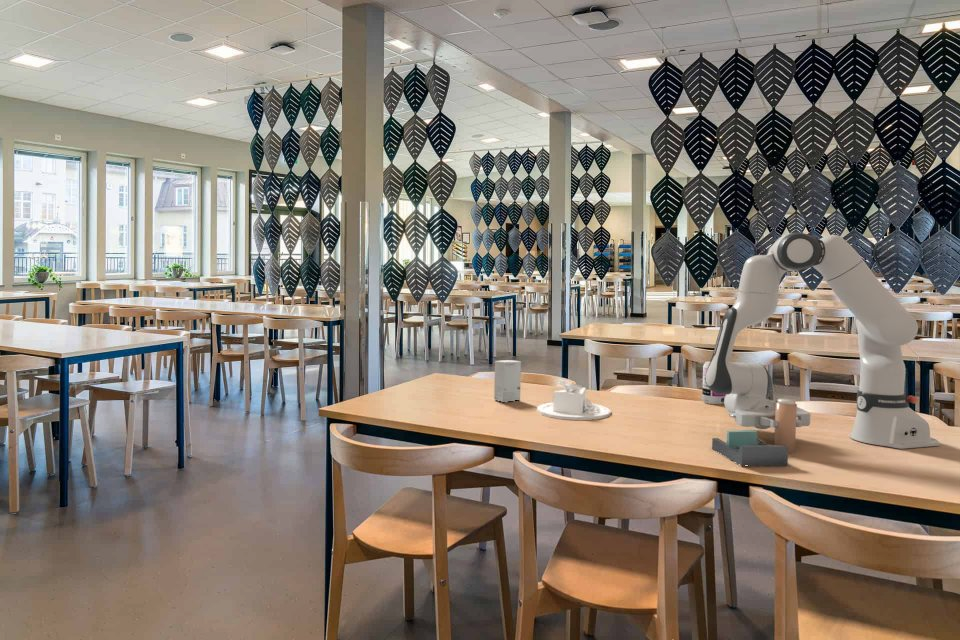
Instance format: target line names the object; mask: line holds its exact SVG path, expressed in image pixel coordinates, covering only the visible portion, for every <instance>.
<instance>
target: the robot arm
mask: <svg viewBox="0 0 960 640" xmlns="http://www.w3.org/2000/svg"><path fill="white" fill-rule="evenodd" d="M812 267H813V268H814V269H815V270H817V271H818V272H819V273H820V274H821V276H822V278H823V279H824V281H826V283H827V285H828V286H829V287H830V289H831V290H832V292H834V294H835V296H836V297H837V298H838V300H839V301H840V302H841V304H842V305H844V306H845V307H846V308H847V309H848V310H849V312H851V313H852V314H853V316H854V317H855V318H856V319H855V327H856V331H857V345H858V351H859V361H860V365H859V367H860V368H859V369H860V370H859V388H858V389H857V390H856V391H857V393H856V416H855V420H854V423H853V427H852V430H851V433H850V435H849V436H850V439H852V440H855V441H857V442H860V443H865V444H870V445H876V446H882V447H889V448H895V449H898V450H899V449H903V450H905V449H913V448H925V447H927V448H928V447H935V446H936V447H937V446H940V445H941V443H940V441H939V440H938V439H936V438H933V437H931V430H930V429H931V428H930V424H929V422H928V421H927V420H925V418H923V417H922V416H920V414H919V413H917V412H916V411H914V410H913V409H912V408H911V407H910V404H909V403H911V404H917V403H918V397H917V396H916V395H915V396H914V395H907V394H905V380H906V379H905V378H906V377H905V376H906V364H905V362H904V359H903V354H902V346H904V345H907V344H909V343H911V342H912V341H914V339H915V338H916V336H917V334H918V330H919V325H918V322H917V320H916V318H915V317H914V316H913V315H912V314H911V313H910V312H909V311H908V310H907V309H906V308H905V307H904V306H903V304H901V302H900V301H899V300H898V299H897V298H896V297H895V296H894V295H893V294H892V293H891V292H890V291H889V290H888V288H887V287H885V286H884V284H882V282H881V281H880V280H879V279H878V278H877V276H876V275H875V274H874V273H873V271H872V270H871V269H870V267H869V266H868V265H867V263H866V262H865V261H864V259H863V258H862V256H861V255H860V254H859V253H858V251H856V249H855V248H854V247H853V246H852V245H851V244H850V243H849V242H848V241H846V239H844V238H843V237H842V236H840V235H837V234H828V235H826V236H823V237H821V238H817V237H815V236H812V235H810V234H808V233H804V232H800V231H799V232H789V233H786V234H783V235H782V236H779V238H776V240H775V241H773V242H772V243H771V244H770V246H769V248H768V249H767V250H766V252H765V253H764V254H756V255H753V256H751V257H749V258H747V259H746V261H745V262H744V264H743V268H742V270H741V275H740V278H739V279H740V280H739V285H738V293H737V298H736V300H735V302H734V303H733V305H732V307H730V308H728V309H727V310H726V311H725V312H724V316H723V317H722V321H721V322H720V326H719V327H720V328H719V331H718V335H717V337H716V338H717V339H716V341H715V344H714V345H715V346H714V349H713V352H712V356H711V359H710V364H709V366H708V368H707V371H706V375H705V381H706V385H707V386H708V387H709V389H710V390H711V391H712V392H714V393H715V394H717V395H726V397H725V399H724V404H723V405H724V407H725V409H726V411H727V412H728V413H729V414H728V415H729V417H731V418H734V422H735V423H736V424H737V425H739V426H740V427H746V428H747V427H749V428H750V427H751V428H752V427H753V428H756V429H758V430H767V429H769V428H775V427H778V421H776V420H775V411H776V402H778V400H772V399H769V395H770V392H771V388H772V377H771V374H770V372H769V370H768V369H767V367H766V366H765V365H764V364H763V363H761V362H736V361H731V358H732V353H733V349H734V346H735V343H736V339H737V336H738V335H739V333H741V332H742V331H743V330H744V329H746V328H748V327H751V326H755V325H758V324H760V323H762V322H765V321H767V320H768V319H770V317H772V316H773V315H774V313H775V312H776V310H777V307H778V303H779V302H778V301H779V293H780V292H779V291H780V290H779V289H780V283H781V280H782V277H783V275H784V274H786V273H787V272H797V271H801V270H806V269H808V268H812ZM811 421H812V420H811V413H810V412H809V411H807V410H805V409H803V408H800V407H798V406H797V417H796V428H801V427H808V426H810V425H811Z"/></svg>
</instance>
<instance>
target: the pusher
mask: <svg viewBox="0 0 960 640" xmlns="http://www.w3.org/2000/svg"><path fill="white" fill-rule="evenodd" d="M757 439H758V431H757V430H755V429H754V430H750V429H749V430H727V431H726V443H727V444H729V445H731V446H733V447H735V448H736V449H738V450H739V447H740V446H747V445H757Z"/></svg>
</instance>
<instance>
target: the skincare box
mask: <svg viewBox="0 0 960 640" xmlns="http://www.w3.org/2000/svg"><path fill="white" fill-rule="evenodd" d="M521 373H522V361H521V360H515V359H513V360H512V359H509V360H507V359H506V360H503V359H501V360H494V387H493V388H494V390H493V391H494V393H493V394H494V395H493V396H494V397H493V400H494V399H495V400H494V401H496V400H498V401H497V402H499V401H501V402H500V403H502V402H505V403H509V402H508V401H513V402H516V401H515V400H520V401H521V384H522V383H521V381H522V379H521V378H522V374H521Z"/></svg>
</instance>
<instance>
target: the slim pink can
mask: <svg viewBox="0 0 960 640" xmlns="http://www.w3.org/2000/svg"><path fill="white" fill-rule="evenodd" d="M777 401H778V402H776V411H775V420H776V421H778V427H774V431H773V432H774V437H773V445H786V446H788V455H789V454H790V453H791V454H795V452H796V435H797V427H796V417H797V407H798V404H797V403H796V401H797V400H795V399H792V398H786V397H785V398H783V397H782V398H777Z"/></svg>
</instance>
